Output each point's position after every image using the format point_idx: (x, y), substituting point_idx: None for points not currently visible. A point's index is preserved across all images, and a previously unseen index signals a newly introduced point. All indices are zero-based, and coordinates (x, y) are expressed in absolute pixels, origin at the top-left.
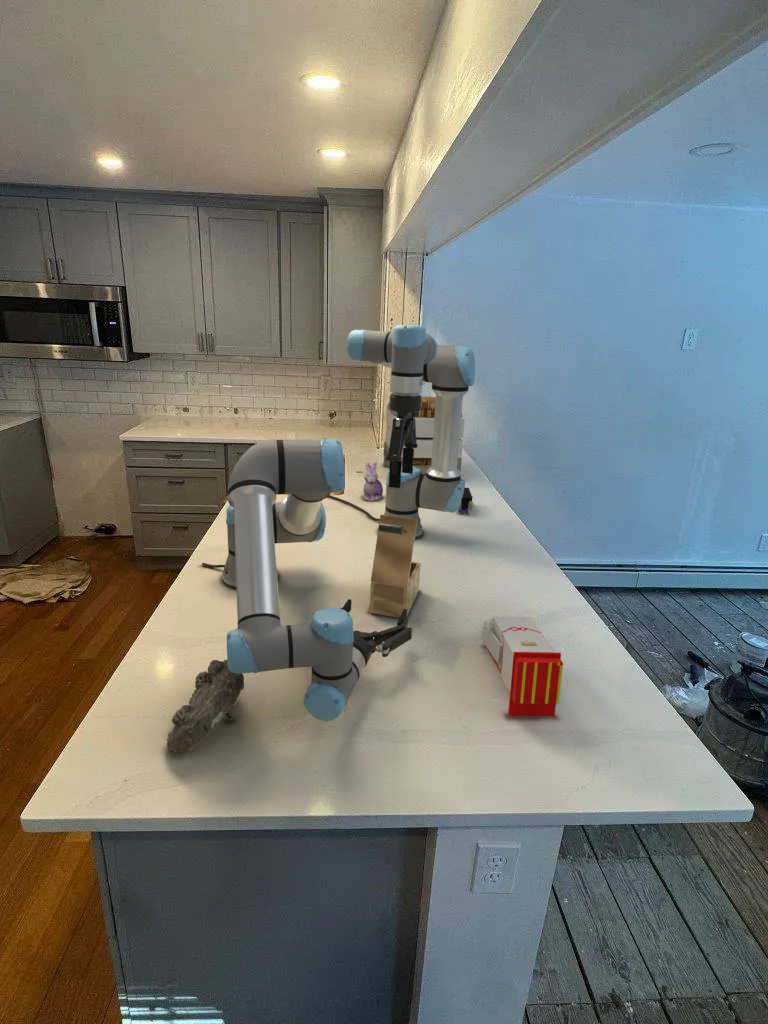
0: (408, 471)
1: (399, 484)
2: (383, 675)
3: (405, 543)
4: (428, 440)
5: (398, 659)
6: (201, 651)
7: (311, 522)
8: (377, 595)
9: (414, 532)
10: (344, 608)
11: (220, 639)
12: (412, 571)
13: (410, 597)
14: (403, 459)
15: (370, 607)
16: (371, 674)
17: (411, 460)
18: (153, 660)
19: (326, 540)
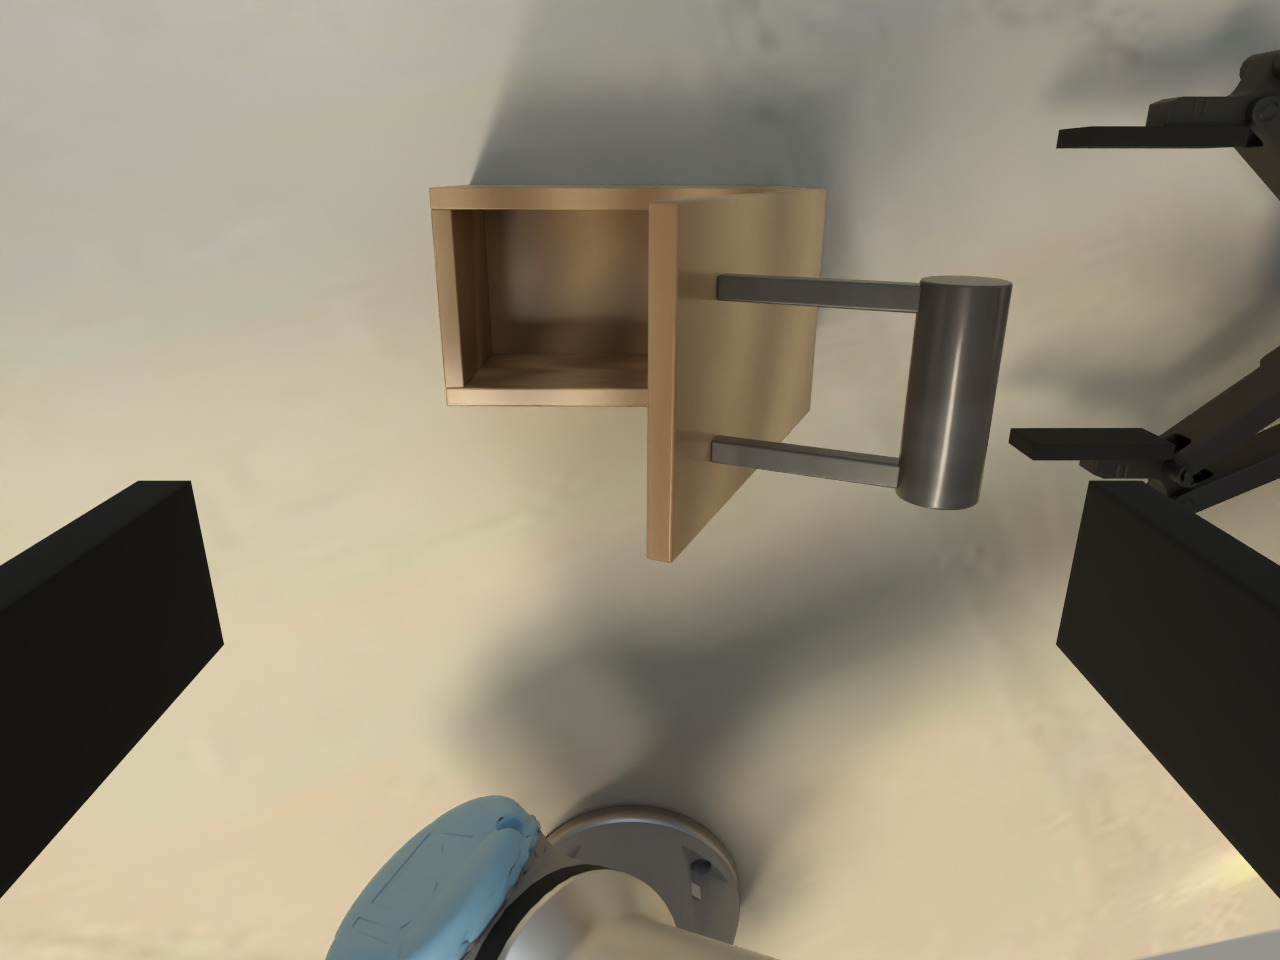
0: (183, 556)
1: (1181, 511)
2: None
3: (750, 263)
4: None
5: None
6: (1166, 807)
7: (658, 924)
8: None
9: (723, 202)
10: (1131, 448)
11: (1088, 790)
12: (465, 232)
13: (695, 186)
14: (71, 793)
15: None
16: (1252, 220)
17: (26, 628)
18: (1229, 894)
19: (138, 766)
